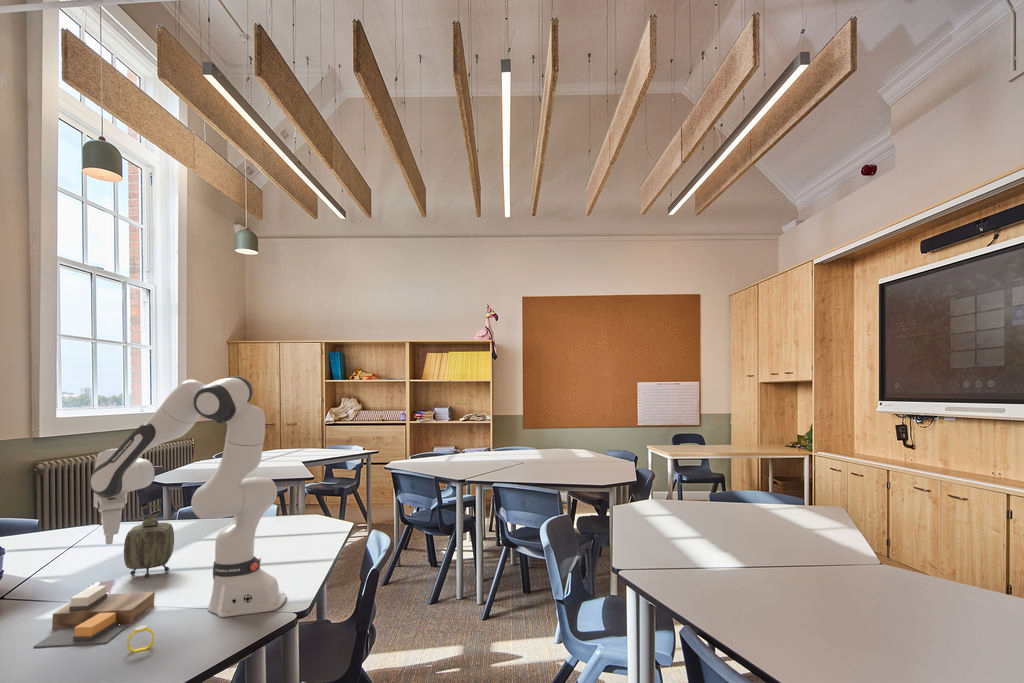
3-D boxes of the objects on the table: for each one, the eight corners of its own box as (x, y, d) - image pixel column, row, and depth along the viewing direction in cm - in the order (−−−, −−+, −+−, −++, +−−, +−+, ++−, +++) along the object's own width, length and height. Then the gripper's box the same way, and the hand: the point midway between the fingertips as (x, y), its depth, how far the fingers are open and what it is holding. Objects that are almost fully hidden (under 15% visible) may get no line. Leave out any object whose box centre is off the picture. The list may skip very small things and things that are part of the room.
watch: (127, 656, 150) (126, 633, 150) (127, 652, 152) (126, 629, 152) (154, 648, 153) (153, 625, 153) (154, 644, 156) (153, 622, 156)
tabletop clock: (173, 569, 216) (175, 501, 217) (168, 577, 207) (170, 506, 209) (128, 574, 211) (130, 504, 212) (121, 582, 202) (123, 510, 203)
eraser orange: (116, 625, 167) (117, 612, 167) (91, 641, 157) (91, 627, 157) (99, 625, 167) (99, 612, 167) (73, 641, 157) (73, 627, 157)
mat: (128, 625, 168) (128, 624, 168) (106, 643, 156) (106, 642, 156) (61, 629, 165) (61, 627, 165) (33, 647, 154) (33, 646, 154)
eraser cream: (107, 597, 179) (107, 585, 179) (87, 610, 169) (88, 597, 169) (89, 597, 178) (90, 585, 178) (69, 611, 168) (69, 598, 168)
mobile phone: (81, 597, 187) (89, 582, 200) (81, 600, 187) (89, 585, 200) (110, 593, 191) (115, 579, 204) (109, 596, 191) (115, 581, 204)
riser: (154, 604, 183) (154, 591, 183) (130, 623, 169) (131, 609, 169) (81, 608, 180) (82, 595, 180) (52, 628, 166) (52, 613, 166)
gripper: (97, 494, 191) (95, 537, 190) (99, 506, 175) (98, 552, 174) (120, 492, 195) (118, 534, 194) (125, 503, 179) (123, 549, 178)
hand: (108, 543), depth 184 cm, fingers closed
